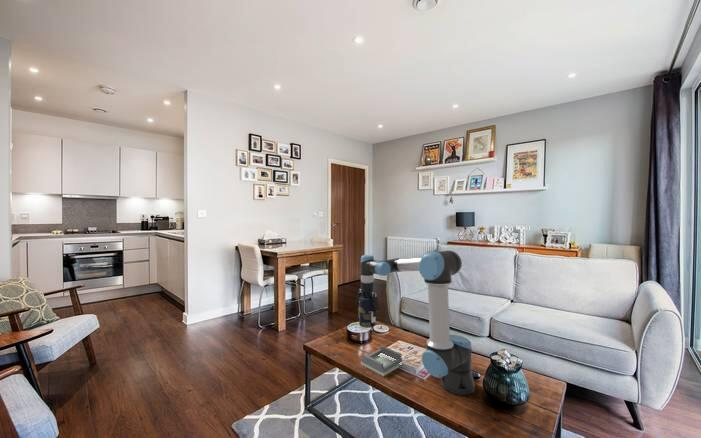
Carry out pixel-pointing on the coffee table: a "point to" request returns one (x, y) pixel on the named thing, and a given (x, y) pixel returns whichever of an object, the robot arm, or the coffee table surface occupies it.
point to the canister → (365, 312)
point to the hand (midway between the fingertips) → (367, 319)
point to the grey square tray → (382, 361)
